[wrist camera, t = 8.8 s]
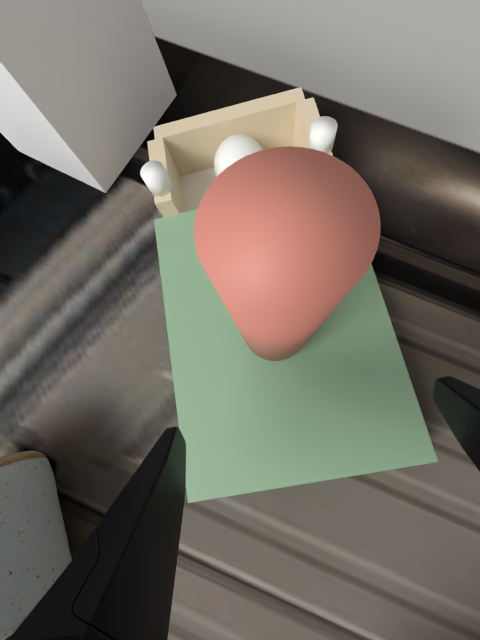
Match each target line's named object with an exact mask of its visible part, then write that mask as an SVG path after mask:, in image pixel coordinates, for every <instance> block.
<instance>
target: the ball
mask: <svg viewBox="0 0 480 640" xmlns="http://www.w3.org/2000/svg"><path fill="white" fill-rule="evenodd" d="M261 150H263V149H262V147H261V146H260V144H259V143H258V142H257V141H256V140H255V139H253V138H252V137H250V136H247V135H243V134H237V135H233V136H230V137H228V138H227V139H225V140H224V141H223V142H222V143H221V144H220V146H219V147H218V149H217V151H216V154H215V159H214V170H215V174H216V177H217V176H218V175H219V174H220V173H221V172H222V171H224V170H225V169H226V168H227V167H228V166H230V165H231V164H233V163H234V162H236V161H237V160H239V159H241V158H243V157H245V156H247V155H250V154H252V153H255V152H258V151H261Z"/></svg>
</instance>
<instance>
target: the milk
mask: <svg viewBox="0 0 480 640" xmlns="http://www.w3.org/2000/svg"><path fill="white" fill-rule="evenodd" d="M176 96H177V94H176V92H175V89H174V86H173V84H172V81H171V79H170V76H169V73H168V71H167V68H166V66H165V63H164V60H163V58H162V55H161V53H160V50H159V47H158V45H157V42H156V40H155V37H154V34H153V32H152V29H151V27H150V24H149V21H148V19H147V16H146V14H145V11H144V8H143V6H142V3H141V1H140V0H0V132H1V133H2V134H3V135H4V136H5V137H6V138H7V139H8V140H9V141H10V143H11V144H12V145H13V146H14V147H15V148H16V149H17V150H18V151H20V152H22V153H24V154H26V155H28V156H30V157H32V158H34V159H36V160H38V161H41V162H43V163H45V164H47V165H49V166H51V167H53V168H55V169H57V170H59V171H61V172H63V173H65V174H67V175H70V176H72V177H74V178H76V179H78V180H80V181H82V182H84V183H86V184H88V185H90V186H92V187H94V188H97V189H99V190H101V191H103V192H105V193H106V192H107V191H108V190H109V188H110V187H111V185H112V184H113V183H114V181H115V180H116V179H117V177H118V176H119V174H120V173H121V172H122V170H123V169H124V167H125V166H126V165H127V163H128V162H129V161H130V159H131V158H132V156H133V155H134V154H135V152H136V151H137V150H138V148H139V147H140V145H141V144H142V143H143V141H144V140H145V138H146V137H147V136H148V134H149V133H150V132H151V130H152V129H153V127H154V126H155V125H156V123H157V122H158V121H159V119H160V118H161V116H162V115H163V114H164V112H165V111H166V109H167V108H168V107H169V105H170V104H171V103H172V101H173V100H174V98H175V97H176Z"/></svg>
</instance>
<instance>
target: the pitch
mask: <svg viewBox="0 0 480 640" xmlns="http://www.w3.org/2000/svg"><path fill="white" fill-rule="evenodd" d="M196 213H197V209H196V210H192V211H188V212H183V213H179V214H177V215H173V216H169V217H165V218H164V217H163V218H159V219H155V220H154V223H155V231H156V240H157V248H158V256H159V265H160V273H161V281H162V290H163V298H164V306H165V315H166V323H167V331H168V340H169V348H170V356H171V365H172V373H173V381H174V390H175V398H176V406H177V415H178V423H179V429H180V431H181V433H182V435H183V437H184V439H185V442H186V490H187V498H188V503H191V502H197V501H203V500H209V499H215V498H221V497H227V496H233V495H239V494H245V493H251V492H258V491H264V490H270V489H276V488H282V487H288V486H294V485H300V484H306V483H312V482H318V481H324V480H331V479H337V478H343V477H349V476H355V475H361V474H367V473H373V472H379V471H385V470H391V469H398V468H404V467H410V466H416V465H422V464H428V463H434V462H438V460H437V457H436V454H435V451H434V448H433V445H432V442H431V439H430V436H429V433H428V430H427V427H426V424H425V421H424V418H423V415H422V412H421V409H420V406H419V403H418V400H417V397H416V394H415V392H414V389H413V386H412V383H411V380H410V377H409V374H408V371H407V368H406V365H405V362H404V359H403V356H402V353H401V350H400V347H399V344H398V341H397V338H396V335H395V332H394V329H393V326H392V323H391V320H390V317H389V314H388V311H387V308H386V305H385V302H384V299H383V297H382V294H381V291H380V288H379V285H378V282H377V279H376V276H375V273H374V270H373V267H372V264H370V266H369V268H368V270H367V271H366V272H365V274H364V275H363V276H362V278H361V279H360V280H359V281H358V282H357V284H356V285H355V286H354V287H353V288H352V289H351V291H350V292H349V293H348V294H347V295H346V296H345V298H344V299H343V300H342V301H341V302H340V303H339V305H338V306H337V307H336V308H335V309H334V310H333V312H332V313H331V314H330V315H329V316H328V317H327V319H326V320H325V321H324V322H323V323H322V324H321V326H320V327H319V328H318V329H317V330H316V331H315V332H314V334H313V335H312V336H311V337H310V338H309V339H308V341H307V342H306V343H305V344H304V345H303V346H302V348H301V349H300V350H299V351H298V352H297V353H296V354H295V355H293V356H292V357H290V358H288V359H285V360H281V361H270V360H266V359H263V358H261V357H259V356H257V355H256V354H255V353H253V352H252V351H251V349H250V348H249V347H248V345H247V343H246V342H245V340H244V338H243V336H242V335H241V333H240V331H239V329H238V328H237V326H236V324H235V322H234V321H233V319H232V317H231V315H230V314H229V312H228V310H227V308H226V306H225V305H224V303H223V301H222V299H221V298H220V296H219V294H218V292H217V291H216V289H215V287H214V285H213V284H212V282H211V280H210V278H209V277H208V275H207V273H206V271H205V269H204V268H203V266H202V264H201V262H200V259H199V257H198V254H197V251H196V246H195V241H194V224H195V217H196Z"/></svg>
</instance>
